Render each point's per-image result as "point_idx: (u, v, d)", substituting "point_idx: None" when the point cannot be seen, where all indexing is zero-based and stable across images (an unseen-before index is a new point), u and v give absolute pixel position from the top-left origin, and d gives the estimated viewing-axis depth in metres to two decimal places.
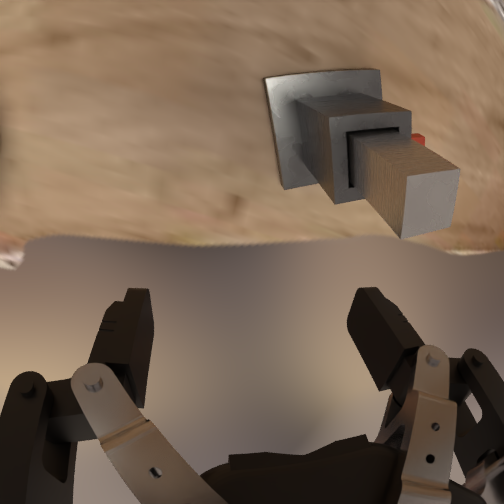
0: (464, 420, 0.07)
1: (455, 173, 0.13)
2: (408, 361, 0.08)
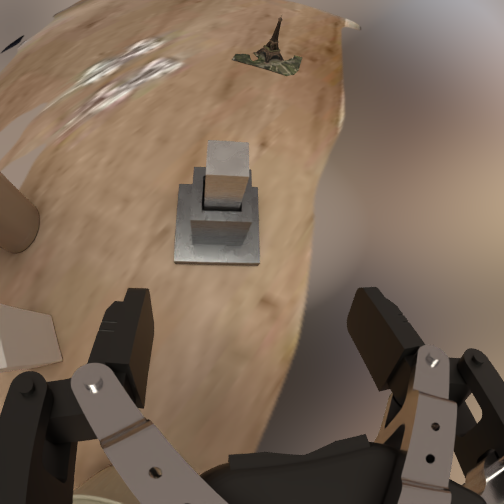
0: (464, 420, 0.07)
1: (210, 143, 0.27)
2: (408, 361, 0.08)
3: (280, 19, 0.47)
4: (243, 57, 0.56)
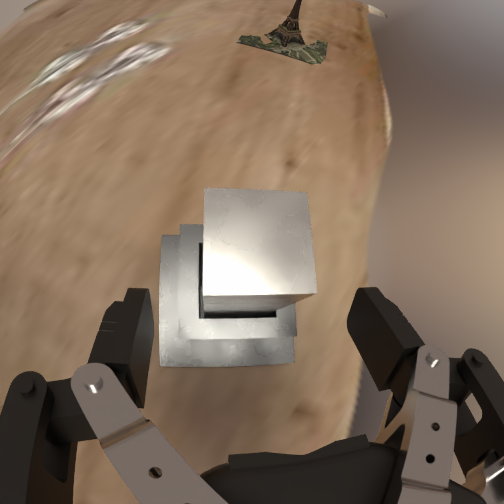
0: (464, 420, 0.07)
1: (211, 197, 0.11)
2: (408, 361, 0.08)
3: None
4: (252, 40, 0.40)
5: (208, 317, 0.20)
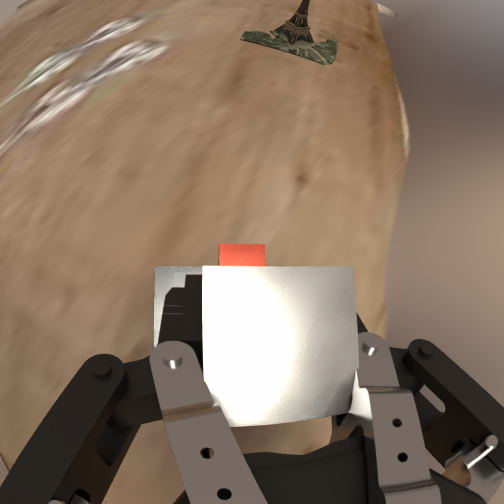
0: (423, 411, 0.08)
1: (213, 282, 0.07)
2: None
3: None
4: (257, 37, 0.36)
5: None
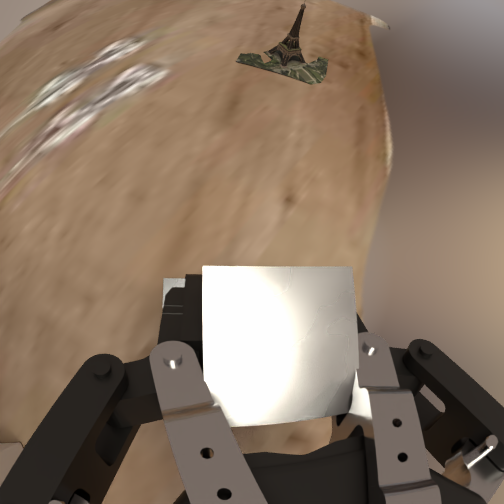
0: (423, 411, 0.08)
1: (213, 282, 0.07)
2: None
3: (303, 6, 0.32)
4: (252, 59, 0.41)
5: None
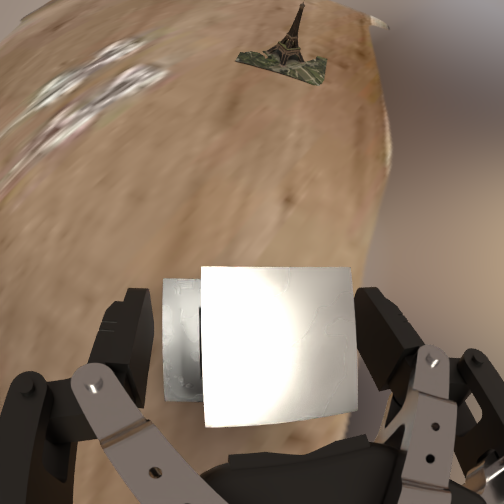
0: (464, 420, 0.07)
1: (212, 282, 0.07)
2: (408, 361, 0.08)
3: (302, 5, 0.32)
4: (251, 58, 0.41)
5: None
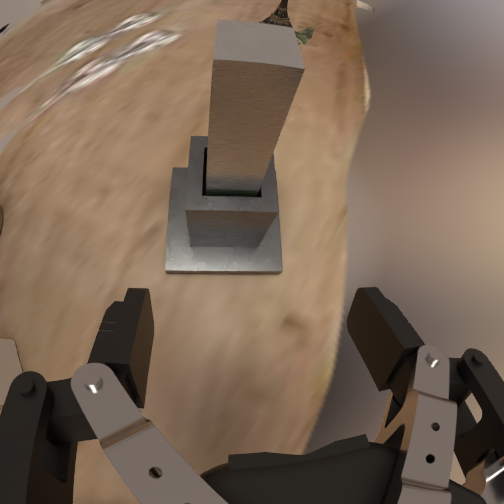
0: (464, 420, 0.07)
1: (222, 23, 0.12)
2: (408, 361, 0.08)
3: None
4: None
5: (210, 181, 0.21)
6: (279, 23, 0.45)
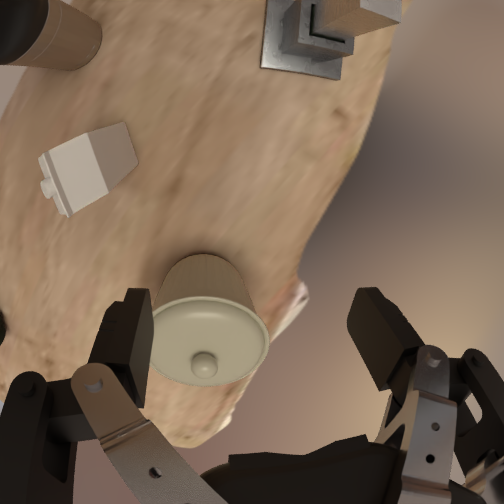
0: (464, 420, 0.07)
1: None
2: (408, 361, 0.08)
3: None
4: None
5: (318, 31, 0.25)
6: None
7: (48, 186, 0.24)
